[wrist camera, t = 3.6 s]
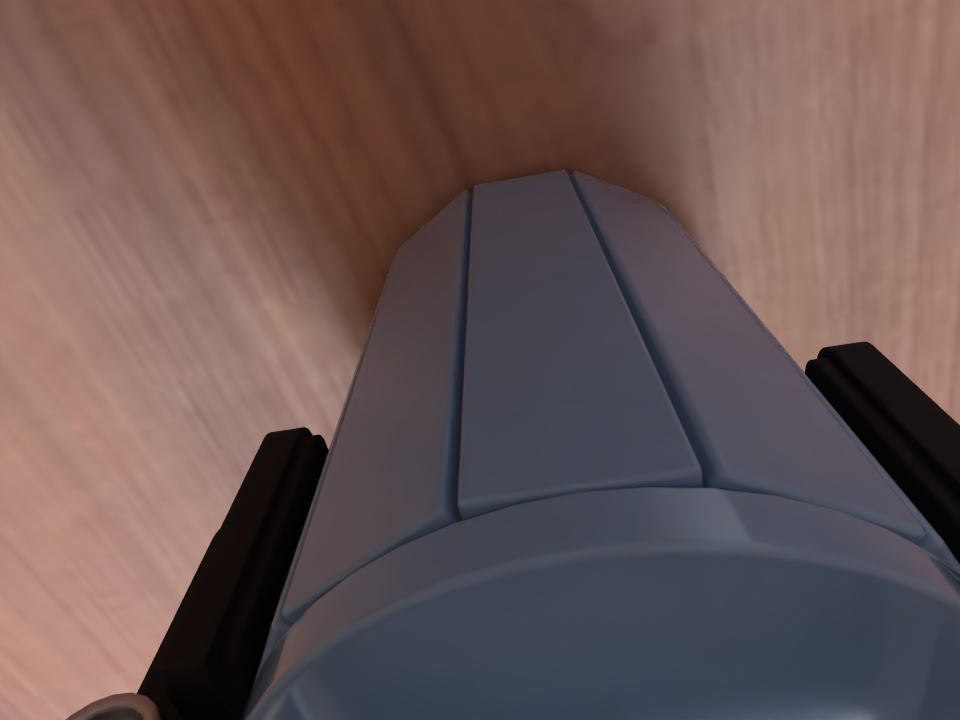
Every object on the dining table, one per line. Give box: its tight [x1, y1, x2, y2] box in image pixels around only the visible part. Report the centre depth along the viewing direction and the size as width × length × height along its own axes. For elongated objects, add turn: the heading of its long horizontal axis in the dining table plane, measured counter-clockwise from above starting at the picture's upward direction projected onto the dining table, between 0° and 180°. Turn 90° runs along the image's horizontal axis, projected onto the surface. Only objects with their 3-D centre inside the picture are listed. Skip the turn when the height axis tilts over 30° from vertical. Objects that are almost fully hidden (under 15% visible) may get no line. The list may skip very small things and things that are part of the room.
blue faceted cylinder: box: [242, 169, 960, 720], centre depth 10 cm, size 7×7×9 cm
